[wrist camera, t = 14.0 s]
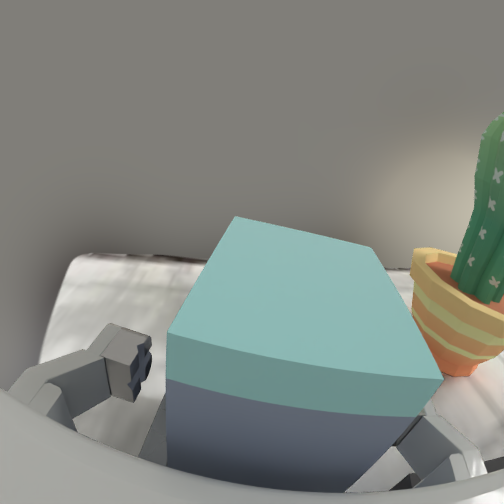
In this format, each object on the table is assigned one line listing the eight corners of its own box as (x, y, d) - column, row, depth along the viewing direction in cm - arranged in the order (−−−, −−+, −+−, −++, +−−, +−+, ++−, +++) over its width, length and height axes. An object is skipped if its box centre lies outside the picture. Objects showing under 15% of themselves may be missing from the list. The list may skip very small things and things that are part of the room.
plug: (273, 544, 9) (444, 379, 4) (172, 526, 9) (166, 332, 4) (281, 448, 14) (371, 247, 10) (200, 432, 14) (235, 216, 10)
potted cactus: (440, 420, 17) (572, 84, 8) (354, 310, 31) (422, 69, 21) (517, 378, 22) (604, 160, 12) (442, 306, 35) (501, 125, 25)
